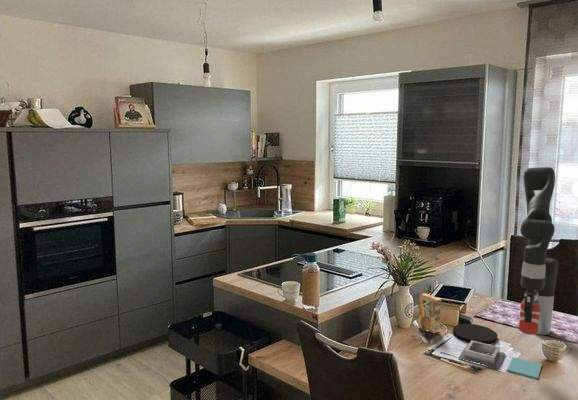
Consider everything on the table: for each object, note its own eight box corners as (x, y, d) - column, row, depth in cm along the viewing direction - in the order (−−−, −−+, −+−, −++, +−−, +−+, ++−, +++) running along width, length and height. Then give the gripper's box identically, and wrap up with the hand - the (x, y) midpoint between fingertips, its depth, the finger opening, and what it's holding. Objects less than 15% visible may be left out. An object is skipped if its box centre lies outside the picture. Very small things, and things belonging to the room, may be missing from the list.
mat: (512, 358, 183) (512, 356, 182) (541, 365, 177) (541, 364, 177) (507, 371, 173) (507, 369, 173) (537, 379, 167) (537, 377, 167)
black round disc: (453, 342, 197) (453, 337, 196) (451, 325, 214) (452, 321, 213) (499, 348, 192) (500, 343, 191) (494, 331, 209) (494, 326, 208)
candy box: (439, 332, 205) (442, 298, 203) (433, 334, 203) (435, 300, 201) (423, 325, 212) (425, 292, 210) (417, 327, 210) (419, 294, 208)
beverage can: (535, 330, 175) (538, 298, 173) (538, 337, 169) (541, 304, 167) (517, 327, 177) (520, 296, 175) (519, 334, 171) (522, 302, 169)
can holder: (467, 345, 193) (468, 337, 192) (504, 355, 185) (505, 346, 185) (458, 359, 181) (459, 350, 181) (497, 369, 174) (498, 360, 173)
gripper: (524, 268, 178) (520, 310, 180) (518, 277, 166) (514, 323, 168) (547, 271, 174) (542, 315, 176) (542, 281, 162) (538, 328, 164)
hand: (529, 318), depth 172 cm, fingers closed on beverage can, 6 cm apart
